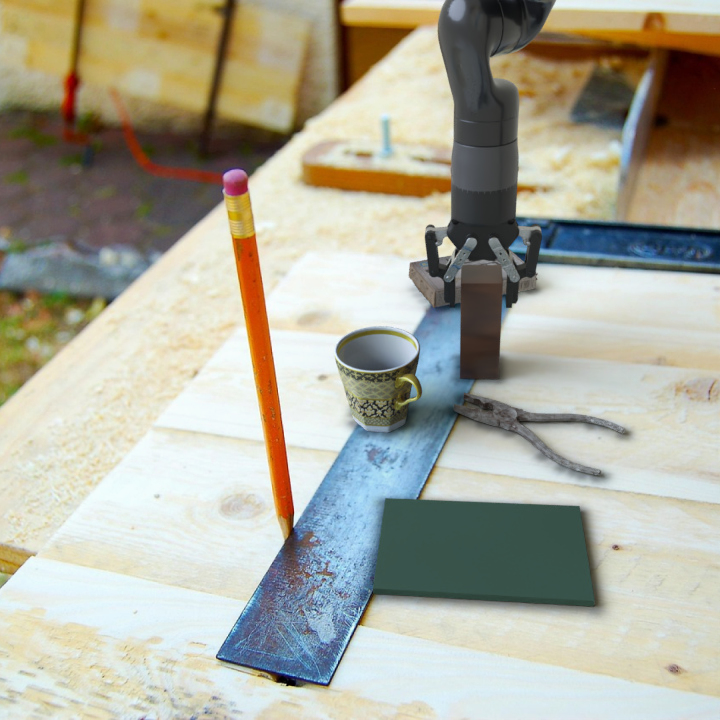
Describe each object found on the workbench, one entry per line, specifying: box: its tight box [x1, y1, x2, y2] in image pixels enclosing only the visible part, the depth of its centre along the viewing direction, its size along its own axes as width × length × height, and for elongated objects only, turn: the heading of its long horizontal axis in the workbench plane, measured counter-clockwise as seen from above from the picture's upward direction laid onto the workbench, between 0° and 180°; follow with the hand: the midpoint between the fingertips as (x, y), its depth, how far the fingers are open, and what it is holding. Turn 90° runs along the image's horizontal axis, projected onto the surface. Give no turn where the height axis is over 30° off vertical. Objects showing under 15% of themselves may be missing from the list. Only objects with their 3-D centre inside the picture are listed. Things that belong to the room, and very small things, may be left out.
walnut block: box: [459, 265, 504, 380], centre depth 98 cm, size 5×5×14 cm
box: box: [408, 249, 539, 309], centre depth 120 cm, size 11×17×3 cm, turn 108°
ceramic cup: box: [333, 325, 423, 433], centre depth 90 cm, size 13×10×10 cm
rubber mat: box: [372, 497, 596, 607], centre depth 75 cm, size 20×12×1 cm, turn 83°
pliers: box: [452, 392, 626, 476], centre depth 89 cm, size 10×1×20 cm
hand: (480, 304), depth 96 cm, fingers open, 6 cm apart
